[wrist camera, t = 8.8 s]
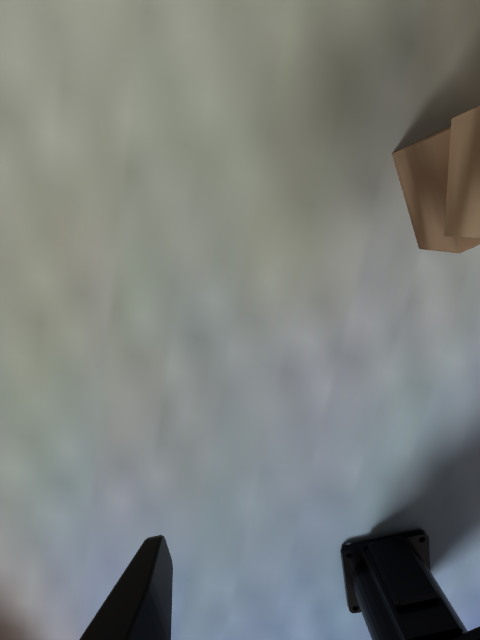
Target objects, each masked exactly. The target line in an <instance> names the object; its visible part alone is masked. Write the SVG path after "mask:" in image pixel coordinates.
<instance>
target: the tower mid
mask: <svg viewBox="0 0 480 640" xmlns="http://www.w3.org/2000/svg"><path fill="white" fill-rule="evenodd" d="M444 236H450V237H471V238H480V106H478V107H476V108H474V109H472V110H469V111H467V112H465V113H463V114H461V115H458V116H456V117H454V118H452V119H451V134H450V150H449V166H448V182H447V198H446V214H445V230H444Z"/></svg>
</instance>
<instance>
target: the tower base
mask: <svg viewBox="0 0 480 640" xmlns="http://www.w3.org/2000/svg"><path fill="white" fill-rule="evenodd" d="M450 134H451V126H450V127H447V128H445V129H443V130H441V131H439V132H437V133H435V134H433V135H430V136H428V137H426V138H424V139H422V140H420V141H418V142H416V143H413V144H411V145H409V146H407V147H405V148H403V149H401V150H399V151H397V152H394V153H392V155H393V159H394V162H395V166H396V169H397V173H398V176H399V180H400V183H401V187H402V190H403V194H404V197H405V201H406V204H407V208H408V211H409V215H410V218H411V222H412V225H413V229H414V232H415V236H416V239H417V243H418V246H419V249H425V250H434V251H443V252H452V253H461V252H464V251H466V250H468V249H470V248H473V247H475V246H477V245H479V244H480V238H471V237H450V236H444V230H445V214H446V198H447V182H448V166H449V150H450Z"/></svg>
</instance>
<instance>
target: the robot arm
mask: <svg viewBox="0 0 480 640" xmlns="http://www.w3.org/2000/svg"><path fill="white" fill-rule="evenodd" d="M341 559H342V567H343V574H344V582H345V590H346V598H347V605H348V608H349V610H350V612H351V613H359V612H362V614H363V617H364V620H365V622H366V625H367V627H368V630H369V633H370V635H371V638H372V640H480V627H477V628H475V629H473V630H470V631H467V630H466V628H465V626H464V625H463V623H462V622H461V620H460V618H459V617H458V615H457V614H456V612H455V610H454V609H453V607H452V606H451V604H450V602H449V601H448V599H447V598H446V596H445V594H444V593H443V591H442V590H441V588H440V586H439V585H438V583H437V582H436V580H435V578H434V577H433V575H432V573H431V572H430V563H429V538H428V536H427V534H426V533H425V531H423V530H416V531H411V532H406V533H402V534H397V535H392V536H388V537H383V538H378V539H373V540H369V541H364V542H359V543H355V544H350V545H346V546H344V547H342V549H341ZM172 578H173V565H172V559H171V556H170V553H169V549H168V546H167V543H166V540H165V538H164V536H162V535H159V536H154V537H149V538H147V539H146V540H145V541H144V542H143V544H142V545H141V547H140V548H139V550H138V552H137V553H136V555H135V556H134V558H133V559H132V561H131V562H130V564H129V565H128V567H127V568H126V570H125V571H124V573H123V574H122V576H121V577H120V579H119V580H118V582H117V583H116V585H115V586H114V588H113V589H112V591H111V592H110V594H109V596H108V597H107V599H106V600H105V602H104V603H103V605H102V606H101V608H100V609H99V611H98V612H97V614H96V615H95V617H94V618H93V620H92V621H91V623H90V624H89V626H88V627H87V629H86V630H85V632H84V633H83V635H82V636H81V638H80V640H171V614H172Z"/></svg>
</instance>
